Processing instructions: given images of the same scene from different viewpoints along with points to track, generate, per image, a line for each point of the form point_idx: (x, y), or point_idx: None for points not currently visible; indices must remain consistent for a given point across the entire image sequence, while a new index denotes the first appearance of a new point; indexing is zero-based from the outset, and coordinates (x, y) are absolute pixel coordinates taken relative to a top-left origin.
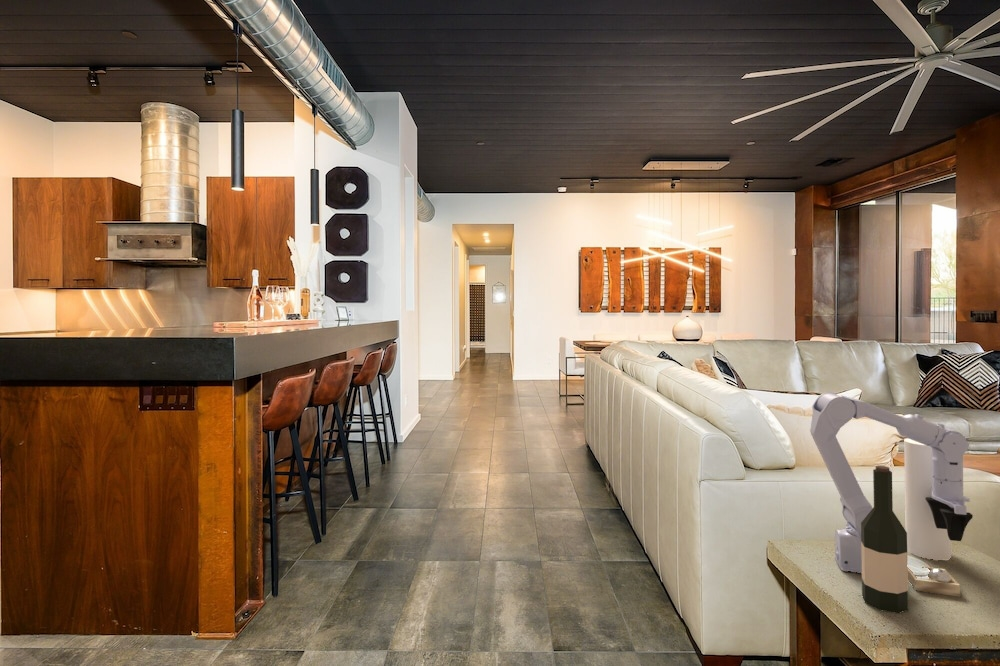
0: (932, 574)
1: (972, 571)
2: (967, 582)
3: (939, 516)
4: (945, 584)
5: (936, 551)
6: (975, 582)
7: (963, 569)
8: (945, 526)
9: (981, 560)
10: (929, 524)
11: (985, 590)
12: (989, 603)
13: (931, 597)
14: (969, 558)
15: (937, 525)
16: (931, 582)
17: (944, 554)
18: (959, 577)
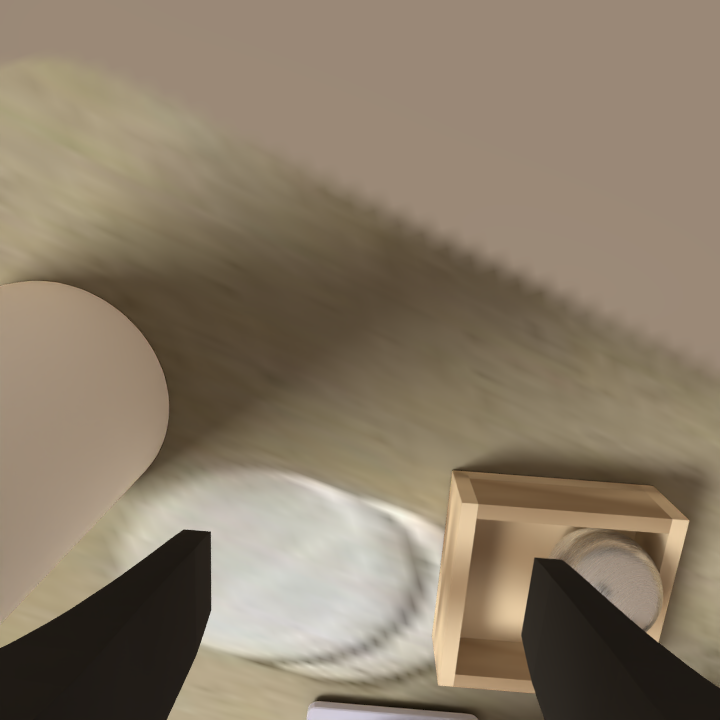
0: None
1: (283, 263)
2: (458, 367)
3: (147, 706)
4: (671, 579)
5: (144, 418)
6: (448, 323)
7: (266, 303)
8: (200, 563)
9: (65, 112)
10: (21, 569)
11: (550, 320)
12: (713, 379)
13: (675, 612)
14: (57, 178)
15: (199, 630)
16: (655, 635)
17: (138, 363)
18: (396, 379)
